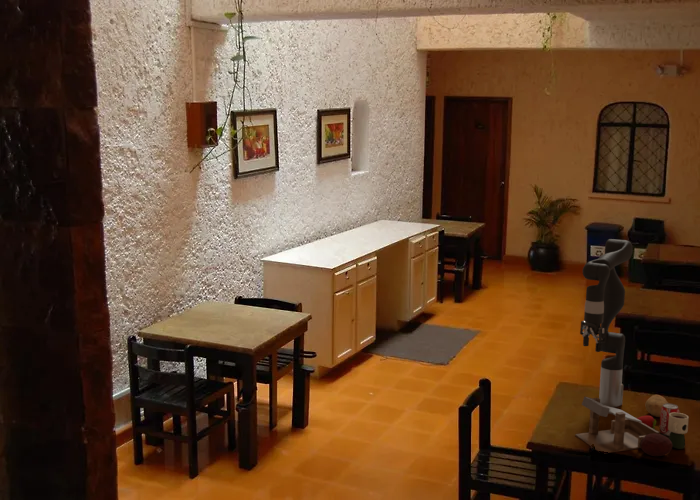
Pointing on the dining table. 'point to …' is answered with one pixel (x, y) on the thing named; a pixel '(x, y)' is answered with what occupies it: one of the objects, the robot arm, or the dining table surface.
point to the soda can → (666, 417)
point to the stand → (615, 433)
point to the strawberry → (648, 421)
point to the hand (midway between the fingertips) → (591, 348)
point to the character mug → (678, 429)
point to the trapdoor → (604, 409)
